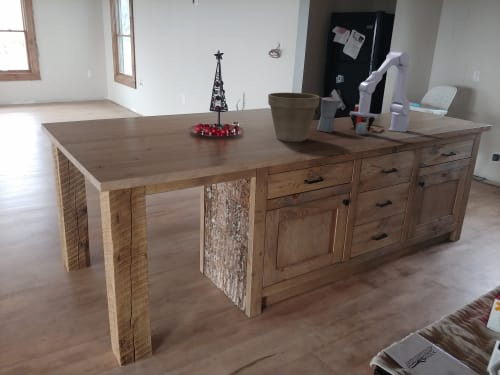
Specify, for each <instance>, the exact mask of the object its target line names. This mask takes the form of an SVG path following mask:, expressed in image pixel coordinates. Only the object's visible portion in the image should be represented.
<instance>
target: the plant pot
mask: <svg viewBox="0 0 500 375" xmlns="http://www.w3.org/2000/svg"><path fill="white" fill-rule="evenodd" d="M319 97H320V96H319V95H318V94H312V93H301V92H271V93H269V94H268V96H267V100H268V101H267V104H268V105H269V106H270V112H271V117H272V121H273V128H274V132H275V137H276V139H277V140H278V141H283V142H290V143H291V142H292V143H295V142H296V143H297V142H299V143H300V142H304V141H306V139H307V137H308V134H309V131H310V128H311V126H312V122H313V119H314V116H315V114H316V113H315V111H316V110H317V108H318V107H319V106H320V101H319Z"/></svg>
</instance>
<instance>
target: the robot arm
mask: <svg viewBox="0 0 500 375" xmlns="http://www.w3.org/2000/svg"><path fill="white" fill-rule="evenodd" d="M409 65H410V54H408V52H406V51H395V50H391V51H389V52H388V54H387V55H386V59H385V60H384V61H383V63H382V64H381V66H380V67H379V68H378V69H377V70H374V71H371V74H370V75H369V77H367V78H366V80H364V81H362V82H361V83H360V84H359V86H358V90H359V103H358V105H359V110H358V112H355V111H352V110H351V111H349V116H350V119H351V121H352V126H353V129H356V122H357V117H358V116H362V117H367V118H368V122H367V124H368V125H367V126H368V129H367V132H370V131H371V129H370V128H371V126H372V125H373V123H375V122H374V121H375V120H376V119H377V118H378V116H379V115H378V114H376V113H371V112H370V110H371V109H370V108H371V102H372V94H373V93H374V92H375V90H376V87H377V84H379V82H381V81H382V79H383V75H384V74H385V73H386V72H387V71H388V70H389V69H390V68H391V67H393V66H395V67H396V69H397V76H396V78H397V79H396V87H395V88H396V89H395V97H394V98H393V99H392V100H391V104H390V106H389V110H390V112H391V121H390V126H389V128H388V131H394V132H401V133H406V132H407V131H408V128H409V121H410V115H408V114H409V112H410V110H411V108H410V107H411V106H410V101H409V99H407V97H406V96H407V87H408V80H409V79H408V77H409V67H410V66H409ZM363 115H365V116H363ZM353 129H352V130H353Z"/></svg>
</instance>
